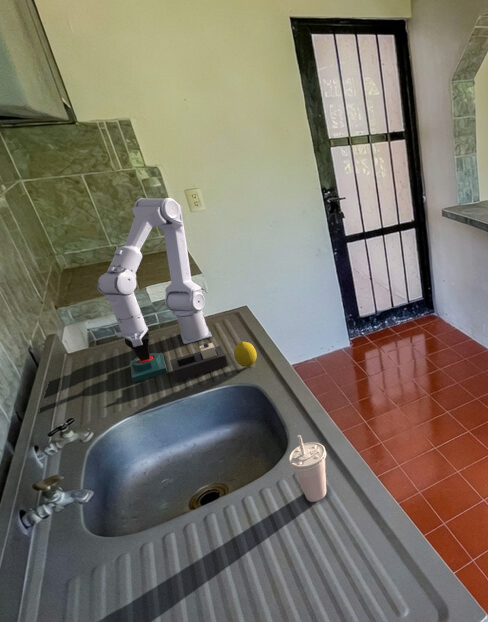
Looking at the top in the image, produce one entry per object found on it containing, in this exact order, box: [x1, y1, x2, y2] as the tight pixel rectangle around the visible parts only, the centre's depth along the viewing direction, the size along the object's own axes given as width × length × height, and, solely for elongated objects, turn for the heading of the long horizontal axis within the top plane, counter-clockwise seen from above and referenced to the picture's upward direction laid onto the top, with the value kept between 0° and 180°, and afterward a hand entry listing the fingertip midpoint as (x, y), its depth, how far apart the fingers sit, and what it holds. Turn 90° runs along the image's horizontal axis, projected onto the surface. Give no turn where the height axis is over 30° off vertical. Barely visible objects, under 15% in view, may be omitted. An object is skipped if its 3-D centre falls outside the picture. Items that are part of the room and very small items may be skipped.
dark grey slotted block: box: [170, 345, 229, 382], centre depth 128 cm, size 7×13×4 cm, turn 126°
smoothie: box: [288, 434, 327, 503], centre depth 82 cm, size 6×6×14 cm
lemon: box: [233, 341, 258, 368], centre depth 126 cm, size 6×6×8 cm
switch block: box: [129, 352, 168, 384], centre depth 128 cm, size 11×8×4 cm
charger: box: [198, 342, 217, 359], centre depth 128 cm, size 3×3×7 cm
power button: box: [138, 356, 153, 363], centre depth 128 cm, size 4×4×2 cm
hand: (145, 358), depth 127 cm, fingers closed, pressing on power button
